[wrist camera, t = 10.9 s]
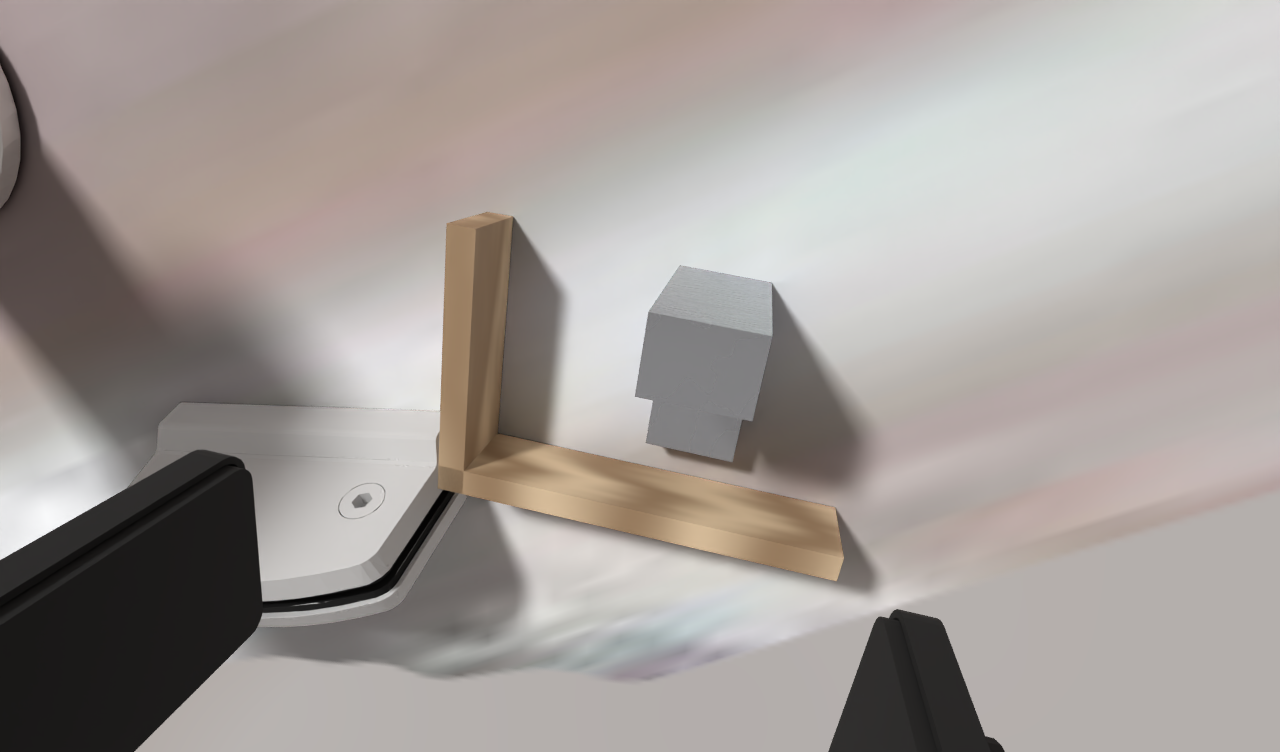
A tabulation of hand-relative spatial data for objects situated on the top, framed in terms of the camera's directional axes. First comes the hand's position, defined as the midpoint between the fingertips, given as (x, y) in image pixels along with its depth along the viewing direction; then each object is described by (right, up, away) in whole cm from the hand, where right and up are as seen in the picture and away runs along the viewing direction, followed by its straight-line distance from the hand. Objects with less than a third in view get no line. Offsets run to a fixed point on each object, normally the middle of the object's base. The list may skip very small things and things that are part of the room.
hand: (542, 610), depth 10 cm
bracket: (+5, +4, +20) cm, 21 cm away
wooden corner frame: (+3, +3, +21) cm, 21 cm away
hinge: (-16, -2, +27) cm, 31 cm away
